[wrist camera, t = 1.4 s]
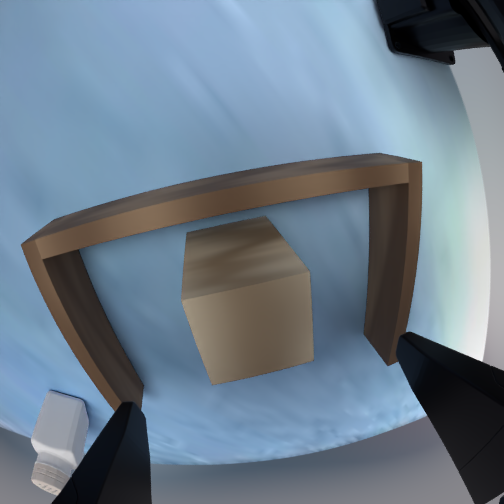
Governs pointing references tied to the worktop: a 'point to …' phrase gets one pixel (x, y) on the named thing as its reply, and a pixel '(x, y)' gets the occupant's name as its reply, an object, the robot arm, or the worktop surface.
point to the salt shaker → (58, 440)
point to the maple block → (246, 300)
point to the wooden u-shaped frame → (217, 203)
